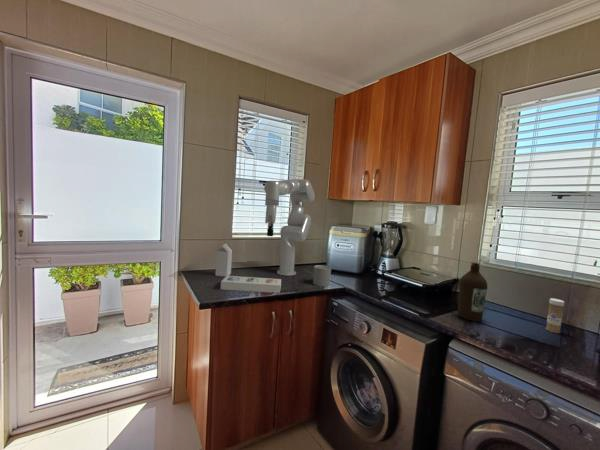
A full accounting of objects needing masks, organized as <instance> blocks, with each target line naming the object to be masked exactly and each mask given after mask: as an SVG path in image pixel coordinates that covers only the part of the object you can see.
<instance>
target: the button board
mask: <svg viewBox="0 0 600 450" xmlns="http://www.w3.org/2000/svg"><path fill="white" fill-rule="evenodd" d="M229 277H238V281H230V280H229ZM248 278H256V279H257V282H248ZM268 279H272V278H271V277H270V278H268V277H252V276H251V277H250V276H240V275H239V276H237V275H235V276H234V275H229V276H226V277H225V276H224V278H223V279H222V280H221V282H220V290H225V291H227V290H228V291H239V292H240V291H242V292H255V293H256V292H257V293H270V294H271V293H272V292H273V294H280V292H281V287H282V279H281V278H273V279H274V280H276V283H267V280H268Z"/></svg>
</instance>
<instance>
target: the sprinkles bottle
mask: <svg viewBox="0 0 600 450" xmlns="http://www.w3.org/2000/svg"><path fill="white" fill-rule="evenodd" d="M548 303H549V306H548V313H547V316H546V317H547V318H546V327H545V330H546V331H548V332H550V333H554V334H561V326H562V322H563V321H562V320H563V311H564V306H565V301H564V300H562V299H559V298H554V297H551V298H549V302H548Z"/></svg>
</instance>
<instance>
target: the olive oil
mask: <svg viewBox="0 0 600 450" xmlns="http://www.w3.org/2000/svg"><path fill="white" fill-rule="evenodd" d="M480 264H481V263H479V262H476V261H475V262H474V261H473V262H471V264H470V270H469V271H467V272H466V273H465V274H463V275H462V276H461V278H460V280H459V291H458V306H457V307H458V308H457V316H458V315H459V316H460V318H461V317H463V318H465V319H464V320H466V319H468V320H467V321H470V320H472V322H482V321H481V320H483V316H484V312H485V305H486V304H485V303H486V298H487V292H488V281H487V280H486V279H485V277H484V276H483V275H482V273H480V268H481V267H480ZM459 316H458V317H459ZM463 318H462V319H463Z"/></svg>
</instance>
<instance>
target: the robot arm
mask: <svg viewBox="0 0 600 450" xmlns="http://www.w3.org/2000/svg"><path fill="white" fill-rule="evenodd" d="M263 188H264V192H265V203H264V206H266V209H265V220H264V221H265V222H264V223H265V224H267V232H266V233H267V234H266V236H267V237H274V224H275V223H276V219H277V218H276V216H277V207H279V204H280V196H286V195H287V194H290V204H291V210H290V212H289V215H288V217H287V220H286V222H287V223H286V224H287V225H283V226H282V227H281V228H280V232H279V233H280V257H279V269H278V270H277V271H276V274H278V275H281V276H289V277H290V276H295V275H296V274H297V272H296V270H295V259H296V245H295V243H294V242H300V243H301V242H305V241H306V240H307V237H308V234H309V231H310V228H311V224H312V218H311V216H310V215H309V214H307V213H304V212H305V210H304V207H303V206H302V204H301V203H313V202H314V201H315V198H316V196H315V195H316V194H315V191H314V188H313V186H312V183H311V182H310V180H308V179H299V178H293V179H283V180H267V181H266V183H265V184H264V187H263Z"/></svg>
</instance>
